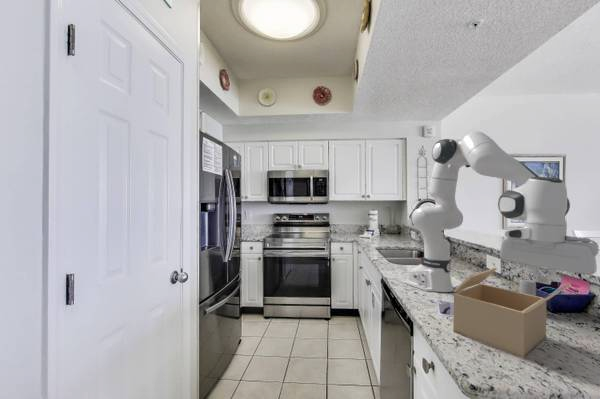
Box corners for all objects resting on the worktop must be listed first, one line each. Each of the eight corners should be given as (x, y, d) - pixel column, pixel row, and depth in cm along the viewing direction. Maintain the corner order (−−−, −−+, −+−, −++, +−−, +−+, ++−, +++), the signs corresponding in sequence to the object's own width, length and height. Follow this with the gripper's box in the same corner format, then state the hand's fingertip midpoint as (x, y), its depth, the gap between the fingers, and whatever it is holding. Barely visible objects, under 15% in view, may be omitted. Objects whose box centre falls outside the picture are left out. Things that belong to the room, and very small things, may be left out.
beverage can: (538, 315, 101) (539, 282, 101) (523, 314, 102) (524, 281, 102) (530, 310, 106) (530, 279, 106) (516, 309, 107) (516, 278, 107)
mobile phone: (438, 313, 101) (437, 299, 114) (438, 315, 101) (437, 302, 114) (462, 316, 98) (458, 302, 111) (462, 319, 98) (458, 305, 111)
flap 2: (551, 294, 69) (553, 296, 69) (569, 282, 80) (572, 283, 80) (524, 311, 73) (526, 313, 73) (546, 297, 84) (547, 299, 84)
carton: (453, 331, 88) (453, 293, 88) (480, 317, 99) (481, 283, 99) (523, 358, 73) (524, 313, 73) (546, 337, 84) (546, 298, 84)
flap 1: (497, 268, 95) (495, 267, 95) (472, 276, 84) (470, 275, 84) (480, 282, 99) (479, 281, 99) (454, 292, 88) (453, 290, 88)
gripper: (601, 238, 71) (599, 291, 71) (506, 229, 87) (505, 272, 88) (596, 240, 67) (594, 296, 67) (498, 230, 84) (497, 275, 84)
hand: (543, 283), depth 78 cm, fingers closed
